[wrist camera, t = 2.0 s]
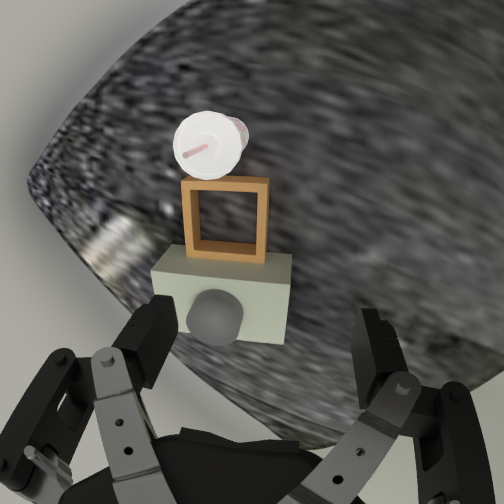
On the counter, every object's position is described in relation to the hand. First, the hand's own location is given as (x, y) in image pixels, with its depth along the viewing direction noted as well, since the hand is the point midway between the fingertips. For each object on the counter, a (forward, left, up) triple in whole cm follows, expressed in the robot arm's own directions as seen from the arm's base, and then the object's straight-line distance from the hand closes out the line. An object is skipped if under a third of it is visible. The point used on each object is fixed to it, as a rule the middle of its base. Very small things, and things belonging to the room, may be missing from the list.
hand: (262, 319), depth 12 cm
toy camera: (+9, -7, -24) cm, 26 cm away
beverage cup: (-5, -7, -24) cm, 25 cm away
